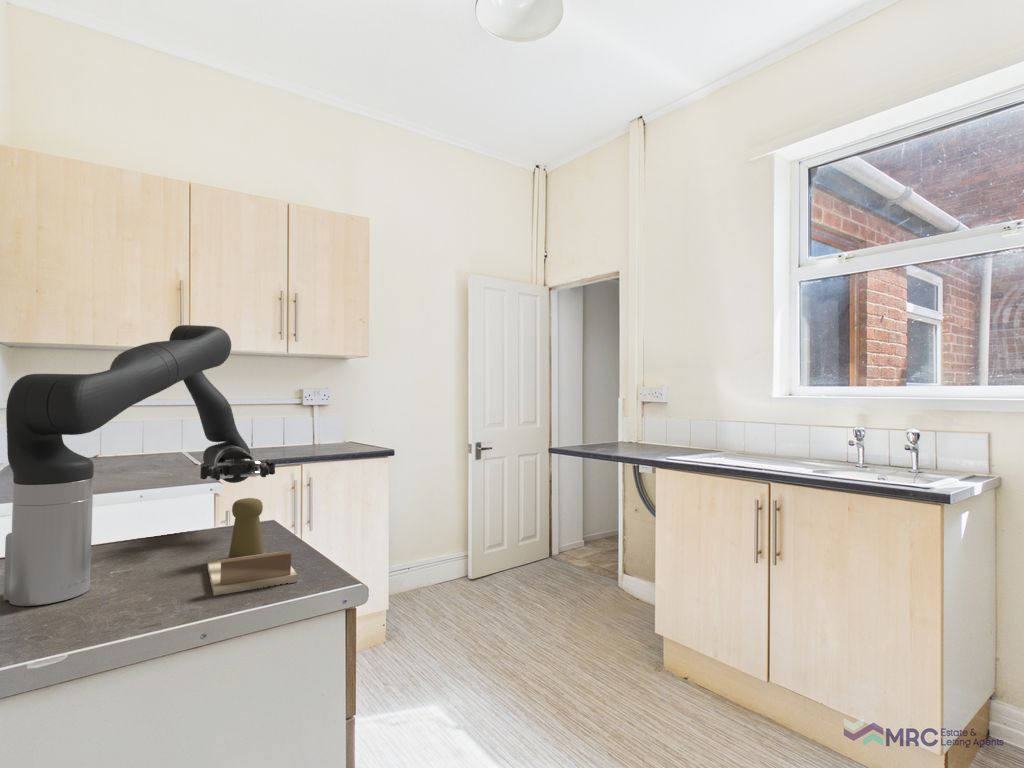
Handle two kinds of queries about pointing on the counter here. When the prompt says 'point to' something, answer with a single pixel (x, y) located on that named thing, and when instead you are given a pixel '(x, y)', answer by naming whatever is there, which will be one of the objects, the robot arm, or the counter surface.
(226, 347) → the robot arm
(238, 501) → the cork
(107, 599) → the counter surface
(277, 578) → the wooden stand base
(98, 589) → the counter surface
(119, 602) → the counter surface
